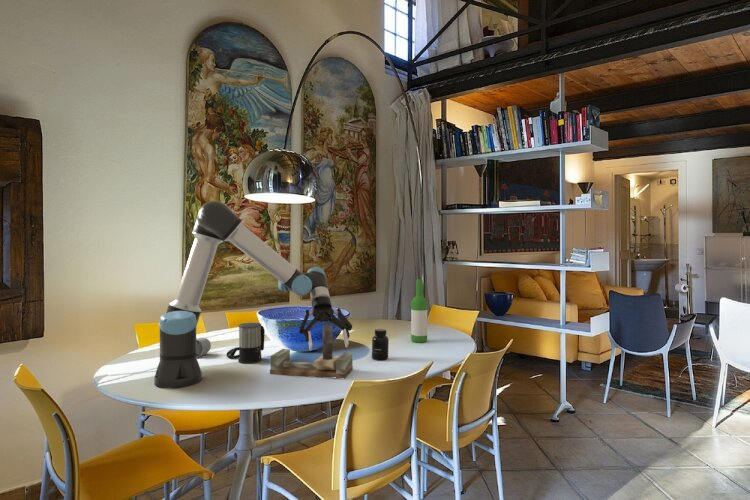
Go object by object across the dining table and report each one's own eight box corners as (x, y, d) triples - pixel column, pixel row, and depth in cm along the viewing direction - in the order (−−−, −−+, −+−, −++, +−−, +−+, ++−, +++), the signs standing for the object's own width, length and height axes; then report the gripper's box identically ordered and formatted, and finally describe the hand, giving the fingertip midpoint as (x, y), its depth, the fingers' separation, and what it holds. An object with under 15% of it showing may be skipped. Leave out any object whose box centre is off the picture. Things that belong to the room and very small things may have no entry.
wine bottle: (419, 338, 230) (419, 278, 229) (430, 341, 224) (430, 279, 223) (407, 341, 225) (408, 279, 225) (419, 343, 219) (419, 280, 219)
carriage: (340, 365, 175) (340, 324, 175) (333, 371, 166) (333, 328, 166) (322, 364, 177) (322, 323, 176) (314, 370, 168) (314, 327, 167)
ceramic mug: (212, 353, 200) (211, 335, 199) (203, 358, 191) (202, 339, 191) (188, 353, 201) (188, 335, 201) (178, 358, 193) (178, 339, 192)
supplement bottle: (374, 361, 188) (374, 331, 187) (370, 357, 194) (370, 328, 194) (390, 360, 190) (390, 330, 189) (385, 356, 196) (385, 327, 196)
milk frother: (258, 364, 183) (258, 326, 183) (218, 364, 183) (218, 326, 183) (266, 355, 198) (266, 320, 197) (229, 355, 197) (229, 320, 197)
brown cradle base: (352, 369, 176) (352, 352, 176) (344, 378, 164) (344, 360, 164) (283, 365, 182) (283, 348, 181) (270, 373, 170) (269, 356, 170)
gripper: (349, 305, 192) (359, 349, 178) (288, 308, 184) (294, 354, 170) (352, 293, 187) (363, 338, 173) (290, 296, 179) (296, 343, 165)
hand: (329, 347), depth 171 cm, fingers open, 13 cm apart
